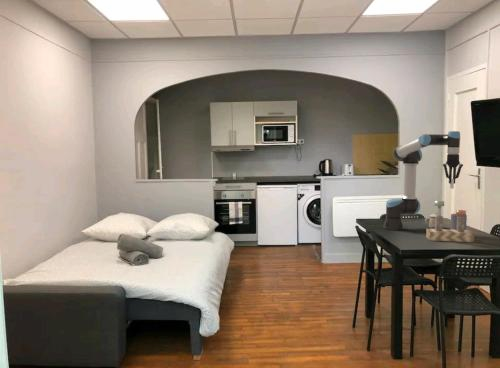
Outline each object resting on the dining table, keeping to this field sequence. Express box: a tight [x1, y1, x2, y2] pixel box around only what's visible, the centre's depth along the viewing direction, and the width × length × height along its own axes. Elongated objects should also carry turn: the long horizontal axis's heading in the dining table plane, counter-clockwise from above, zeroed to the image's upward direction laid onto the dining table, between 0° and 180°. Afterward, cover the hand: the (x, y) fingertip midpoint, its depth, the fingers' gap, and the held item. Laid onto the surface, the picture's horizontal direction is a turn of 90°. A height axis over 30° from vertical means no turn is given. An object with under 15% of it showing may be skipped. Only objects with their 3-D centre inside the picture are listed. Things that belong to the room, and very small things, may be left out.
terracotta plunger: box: [455, 209, 467, 217], centre depth 297 cm, size 6×6×14 cm
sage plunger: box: [434, 200, 445, 217], centre depth 300 cm, size 6×6×14 cm
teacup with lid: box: [424, 212, 438, 228], centre depth 348 cm, size 12×9×12 cm
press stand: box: [425, 215, 475, 243], centre depth 299 cm, size 28×12×16 cm, turn 78°
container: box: [450, 213, 468, 230], centre depth 314 cm, size 10×10×15 cm
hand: (451, 188), depth 297 cm, fingers closed
